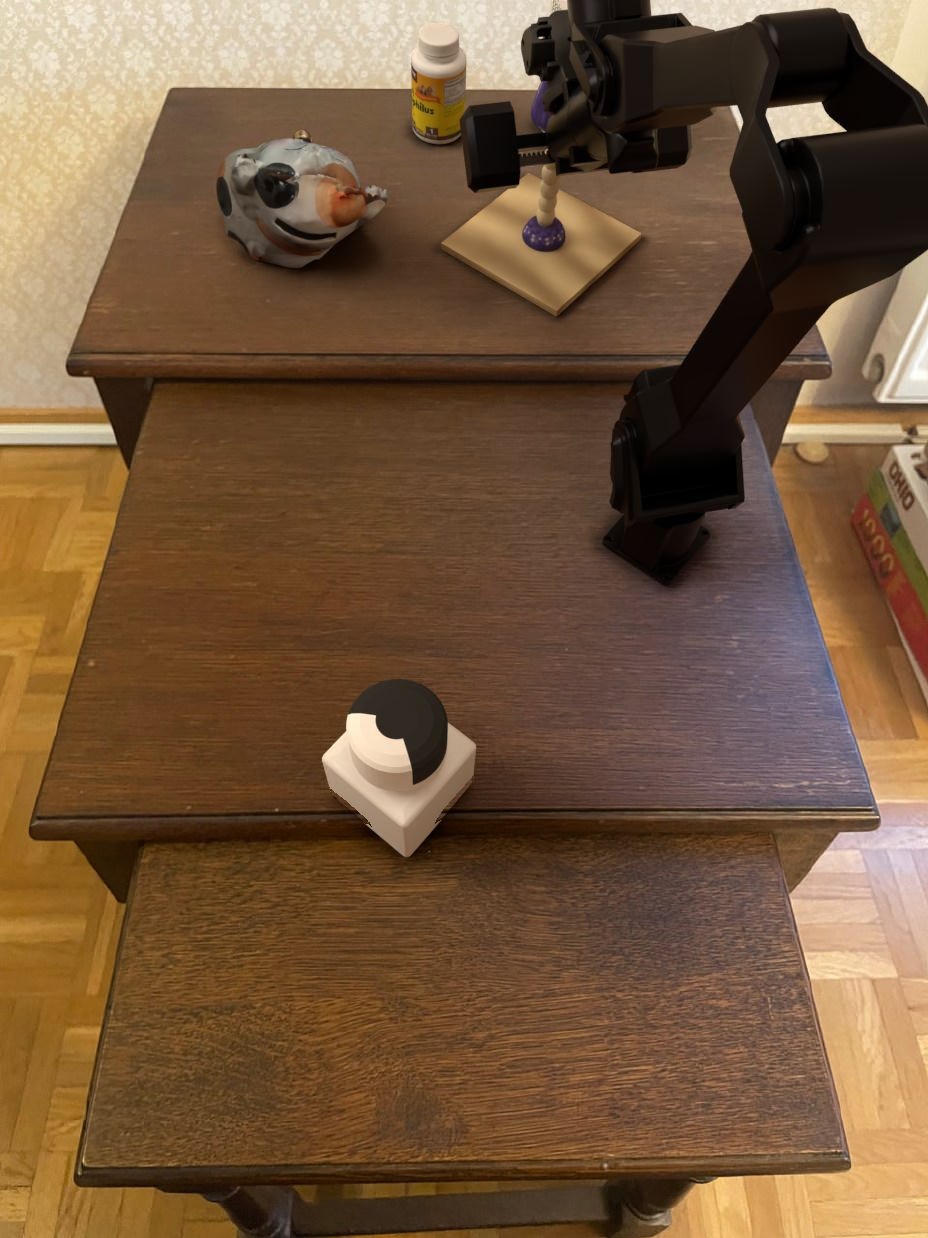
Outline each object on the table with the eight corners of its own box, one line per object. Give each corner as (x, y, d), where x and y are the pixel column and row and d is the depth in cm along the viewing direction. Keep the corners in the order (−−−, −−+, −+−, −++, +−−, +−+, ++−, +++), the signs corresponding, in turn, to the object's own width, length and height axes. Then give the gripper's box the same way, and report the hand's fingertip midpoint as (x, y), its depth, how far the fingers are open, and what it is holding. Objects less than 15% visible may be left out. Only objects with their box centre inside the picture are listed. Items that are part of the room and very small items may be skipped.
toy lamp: (572, 251, 94) (598, 84, 79) (526, 259, 93) (544, 91, 78) (557, 219, 96) (580, 50, 81) (512, 226, 95) (526, 57, 81)
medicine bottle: (397, 722, 70) (391, 643, 59) (474, 783, 68) (482, 712, 57) (329, 795, 67) (310, 726, 57) (407, 861, 65) (402, 802, 55)
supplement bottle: (402, 125, 104) (399, 27, 95) (445, 108, 105) (446, 10, 97) (430, 153, 102) (430, 55, 93) (474, 135, 103) (478, 38, 94)
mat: (556, 316, 90) (557, 310, 90) (440, 249, 95) (440, 242, 94) (640, 239, 96) (642, 233, 95) (527, 179, 100) (528, 172, 99)
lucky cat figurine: (373, 185, 99) (406, 106, 85) (358, 298, 97) (389, 236, 84) (222, 144, 94) (232, 55, 81) (205, 262, 93) (212, 190, 80)
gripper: (715, -18, 72) (641, 47, 86) (468, 6, 69) (435, 69, 84) (724, 146, 75) (651, 182, 90) (488, 175, 72) (453, 207, 87)
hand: (550, 158), depth 87 cm, fingers open, 9 cm apart
